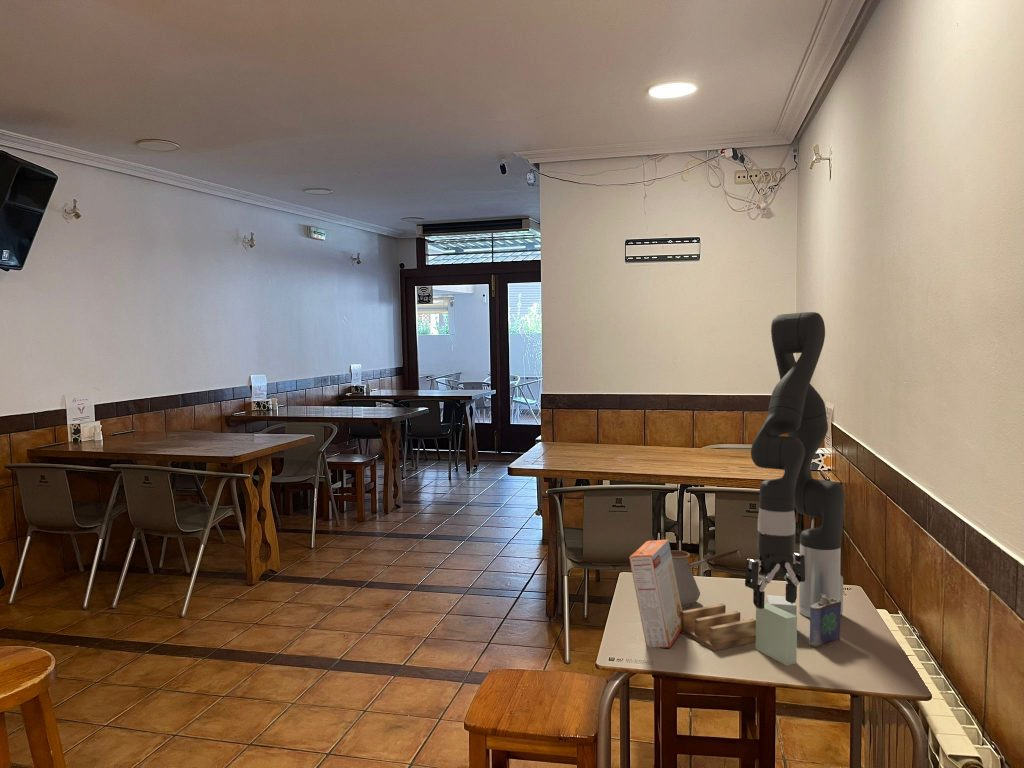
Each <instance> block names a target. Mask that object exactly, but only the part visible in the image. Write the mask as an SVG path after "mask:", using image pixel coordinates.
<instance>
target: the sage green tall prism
mask: <svg viewBox="0 0 1024 768" xmlns="http://www.w3.org/2000/svg"><path fill="white" fill-rule="evenodd" d="M755 620H756V642H755V650H756V651H759V652H761V653H762V654H764V655H766V656H768V657H770V658H771V659H774V660H775V661H777V662H779V663H780V664H783V665H784V666H791V665H795V664H797V661H798V660H797V659H798V658H797V657H798V656H797V650H798V649H797V647H798V615H796V616H795V615H793V614H791V613H789V612H786V611H784V610H782V609H780V608H777V607H775V606H773V605H771V604H769V603H766V602H765V601H764V608H763V609H759V608H757V607H755Z"/></svg>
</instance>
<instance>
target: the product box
mask: <svg viewBox="0 0 1024 768" xmlns="http://www.w3.org/2000/svg"><path fill="white" fill-rule="evenodd" d="M766 603H769V604H771V605H773V606H775V607H777V608H780V609H782V610H784V611H786V612H789V613H791V614H793V615H795V616H797V611H798V610H797V604H796V602H795V603H790V602H787V601H786V595H785V596H783V595H771V594H766Z"/></svg>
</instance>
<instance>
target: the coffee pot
mask: <svg viewBox="0 0 1024 768" xmlns="http://www.w3.org/2000/svg"><path fill="white" fill-rule="evenodd" d="M736 553H738V556H739V558H741V557H742V556H741V553H740V550H739V549H738V548H737V549H732V550H728V551H726V552H721V553H717V554H715V555H713V556H710V557H708V558H705V559H701V560H699V561H695V562H692V563H688V562H689V558H690V557H691V553H689V552H687V551H685V550H676V549H675V550H673V549H672V550H671V555H672V561H673V566H674V571H675V576H676V582H677V587H678V592H679V598H680V603H681V608H682V609H684V608H689V607H691V606H693V605H694V604H695V603H696V602H697V601H699V598H700V596H701V592H700V589H699V587H698V584H697V582H696V581H697V580H696V579H695V577H694V575H693V573H692V570H691V568H694V567H697V566H700V565H703V564H705V563H710V562H712V561H713V562H715V561H716V560H717V561H718V560H721V559H723V558H725V557H727V556H732V555H733V554H736Z"/></svg>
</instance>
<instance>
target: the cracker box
mask: <svg viewBox="0 0 1024 768" xmlns="http://www.w3.org/2000/svg"><path fill="white" fill-rule="evenodd" d="M671 551H672V550H671V546H670V541H669V539H659V540H658V539H656V540H655V539H654V540H647V541H645V542H644V543H643V544H642V545H641V546H640V547H639V548H638V549H637V550H636V551H634V552H633V553H632V554H631V555H630V556H629V558H628V559H629V564H630V570H631V573H632V574H631V575H632V579H633V583H634V585H633V586H634V589H635V594H636V595H635V596H636V600H637V601H636V602H637V604H638V605H637V606H638V610H639V616H640V621H641V626H642V632H643V635H644V641H645V646H646V645H649V646H648V647H651V646H655V647H654V648H657V647H661V649H668V648H669V649H670V648H671V647H672V646H673V644H674V643H675V641H676V639H677V638H678V636H679V635H680V633H682V632H681V630H682V620H681V611H683V610H682V609H683V608H681V603H680V598H679V592H678V587H677V582H676V576H675V571H674V566H673V561H672V555H671Z"/></svg>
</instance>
